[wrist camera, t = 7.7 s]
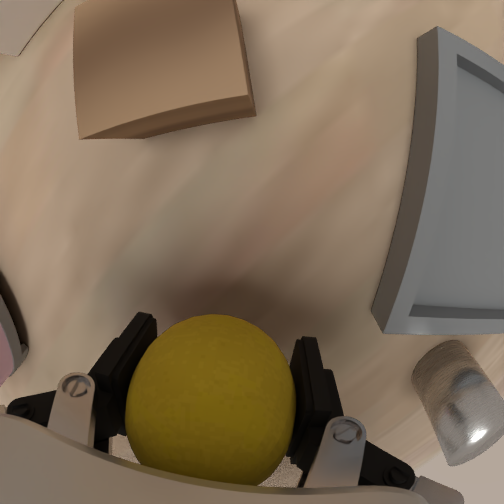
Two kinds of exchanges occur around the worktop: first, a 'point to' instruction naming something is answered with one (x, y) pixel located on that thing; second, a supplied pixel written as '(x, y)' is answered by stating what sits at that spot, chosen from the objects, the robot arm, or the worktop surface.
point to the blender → (9, 345)
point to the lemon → (212, 402)
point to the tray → (450, 199)
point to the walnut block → (158, 66)
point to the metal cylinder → (459, 401)
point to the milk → (21, 22)
